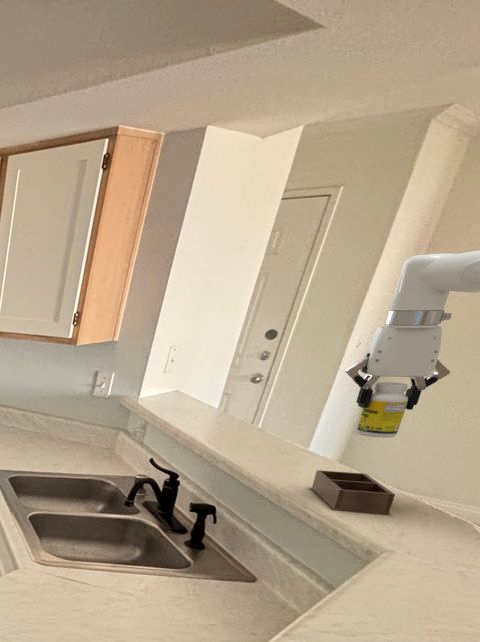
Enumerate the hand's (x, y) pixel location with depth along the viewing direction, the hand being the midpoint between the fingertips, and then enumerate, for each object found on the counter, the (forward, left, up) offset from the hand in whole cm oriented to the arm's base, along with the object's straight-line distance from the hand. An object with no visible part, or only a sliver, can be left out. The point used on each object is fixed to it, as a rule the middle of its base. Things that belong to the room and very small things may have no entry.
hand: (384, 407), depth 125 cm
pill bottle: (0, 0, -6) cm, 6 cm away
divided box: (+1, -2, -22) cm, 22 cm away
